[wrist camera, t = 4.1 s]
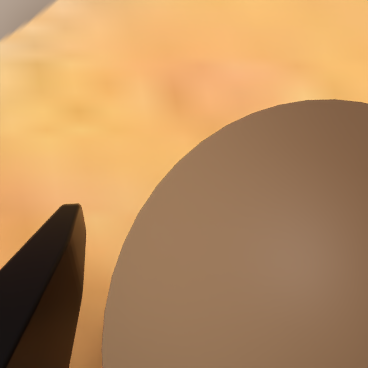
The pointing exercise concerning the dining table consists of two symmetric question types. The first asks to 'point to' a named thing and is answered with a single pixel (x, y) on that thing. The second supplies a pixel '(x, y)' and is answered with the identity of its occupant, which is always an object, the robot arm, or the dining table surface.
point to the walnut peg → (251, 249)
